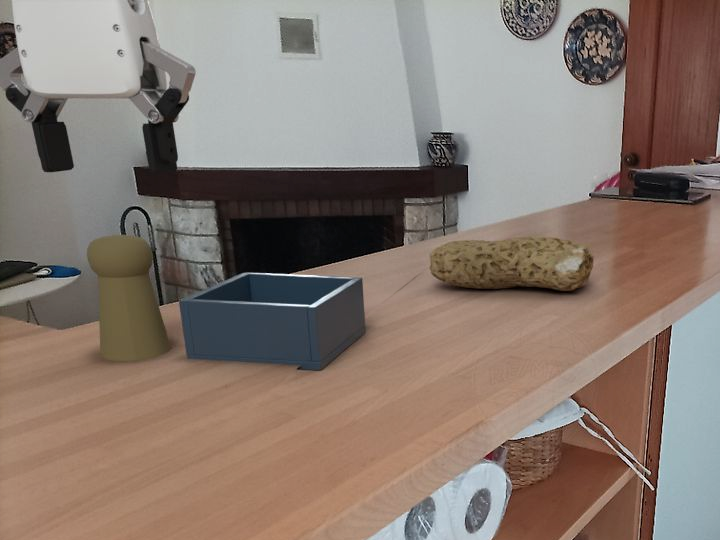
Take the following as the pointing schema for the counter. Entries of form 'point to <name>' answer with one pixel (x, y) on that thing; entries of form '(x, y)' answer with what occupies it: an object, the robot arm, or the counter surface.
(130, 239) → the cork
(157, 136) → the robot arm
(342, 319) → the bin
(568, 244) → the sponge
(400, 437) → the counter surface
